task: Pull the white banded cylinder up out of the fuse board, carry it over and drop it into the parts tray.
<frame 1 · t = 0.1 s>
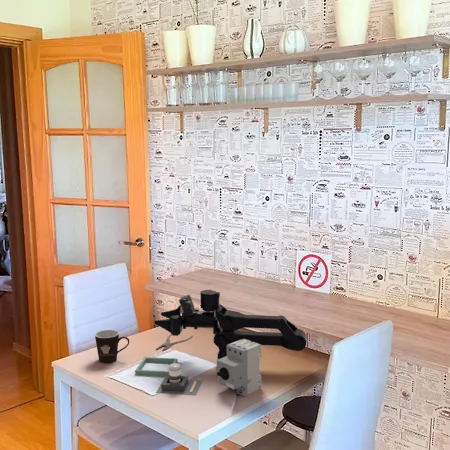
hand: (157, 318, 205), 17 cm above the table, tool horizontal, fingers open, 9 cm apart
circuit breaker: (237, 392, 184), on the table
fuse board: (179, 389, 186), on the table
pliers: (175, 343, 228), on the table
parts tray: (157, 371, 200), on the table
coffee mug: (111, 361, 210), on the table
white banded cylinder: (175, 386, 186), point 1 cm above the table, touching fuse board
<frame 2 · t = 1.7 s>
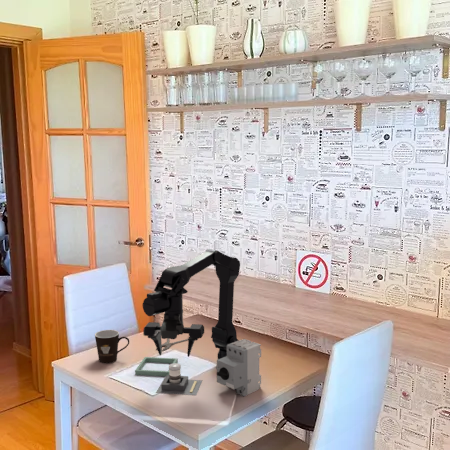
hand: (174, 355, 184), 11 cm above the table, tool pointing down, fingers open, 9 cm apart
nothing on the table moved.
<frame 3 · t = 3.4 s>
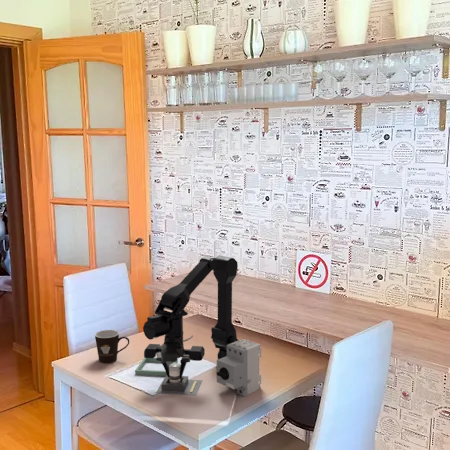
hand: (174, 377, 185), 4 cm above the table, tool pointing down, fingers closed on white banded cylinder, 4 cm apart
white banded cylinder: (175, 386, 186), point 1 cm above the table, touching fuse board, gripper
everything else where it was.
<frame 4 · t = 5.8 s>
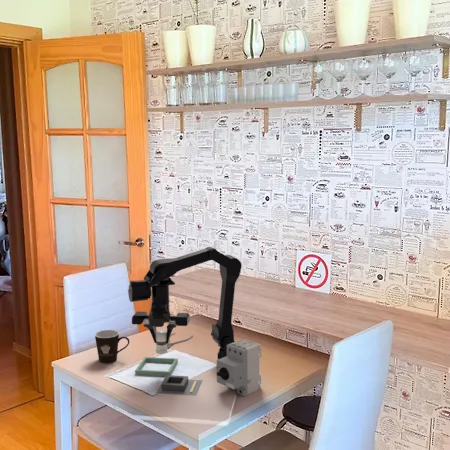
hand: (161, 343, 194), 12 cm above the table, tool pointing down, fingers closed on white banded cylinder, 4 cm apart
white banded cylinder: (161, 351, 194), point 9 cm above the table, touching gripper
everything else where it was.
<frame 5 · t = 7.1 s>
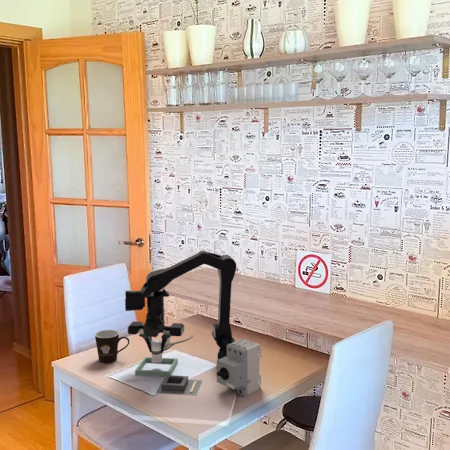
hand: (156, 352, 199), 7 cm above the table, tool pointing down, fingers closed on white banded cylinder, 4 cm apart
white banded cylinder: (157, 360, 199), point 4 cm above the table, touching gripper
everything else where it was.
when the fingers open (6 cm above the table, at t = 8.0 s): white banded cylinder drops 2 cm, resting on parts tray.
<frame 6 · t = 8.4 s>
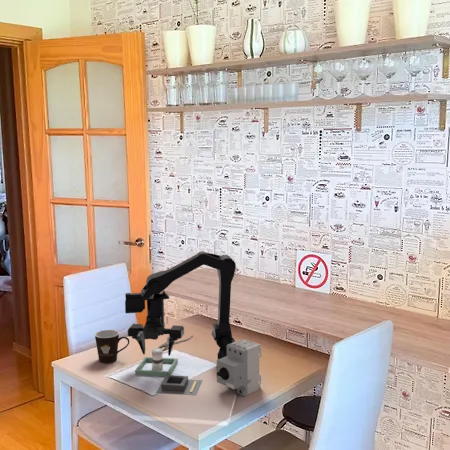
hand: (156, 354, 199), 6 cm above the table, tool pointing down, fingers open, 9 cm apart
white banded cylinder: (157, 369, 200), point 1 cm above the table, touching parts tray
everything else where it was.
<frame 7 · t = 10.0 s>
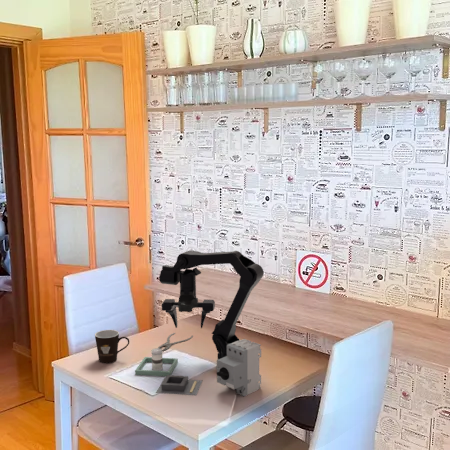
hand: (189, 327, 209), 12 cm above the table, tool pointing down, fingers open, 9 cm apart
nothing on the table moved.
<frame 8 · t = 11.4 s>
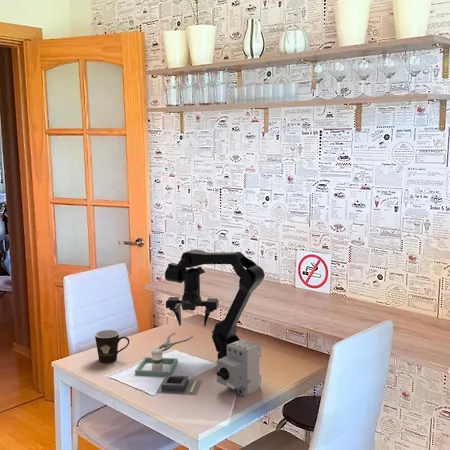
hand: (192, 326, 210), 12 cm above the table, tool pointing down, fingers open, 9 cm apart
nothing on the table moved.
at the end: white banded cylinder inside the target area on the parts tray (0.2 cm from its centre), point 0.6 cm above the parts tray's base; the gripper is holding nothing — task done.
